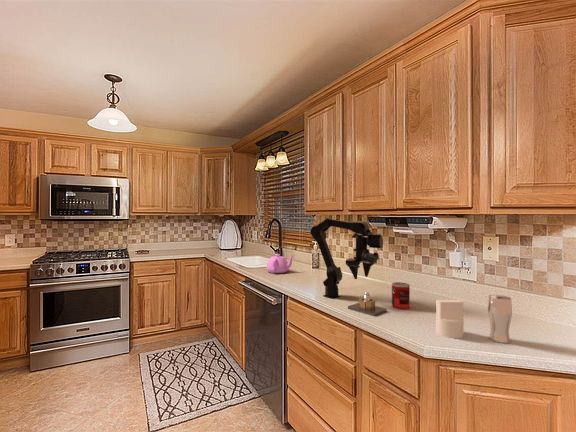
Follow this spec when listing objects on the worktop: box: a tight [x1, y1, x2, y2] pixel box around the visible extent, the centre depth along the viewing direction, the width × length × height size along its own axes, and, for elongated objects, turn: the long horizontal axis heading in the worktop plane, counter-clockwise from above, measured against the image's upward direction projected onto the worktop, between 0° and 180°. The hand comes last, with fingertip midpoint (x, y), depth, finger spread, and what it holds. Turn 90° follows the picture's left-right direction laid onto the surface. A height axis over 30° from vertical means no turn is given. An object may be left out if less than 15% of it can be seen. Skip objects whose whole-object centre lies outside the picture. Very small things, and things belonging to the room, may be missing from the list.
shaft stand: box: [347, 291, 388, 317], centre depth 140 cm, size 14×10×8 cm
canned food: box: [391, 281, 411, 310], centre depth 144 cm, size 8×8×11 cm
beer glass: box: [487, 294, 513, 344], centre depth 107 cm, size 7×7×15 cm
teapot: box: [265, 253, 295, 274], centre depth 232 cm, size 22×22×14 cm
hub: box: [358, 297, 376, 310], centre depth 140 cm, size 7×7×4 cm
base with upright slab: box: [435, 299, 465, 339], centre depth 112 cm, size 9×9×12 cm
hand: (361, 277), depth 154 cm, fingers open, 9 cm apart
